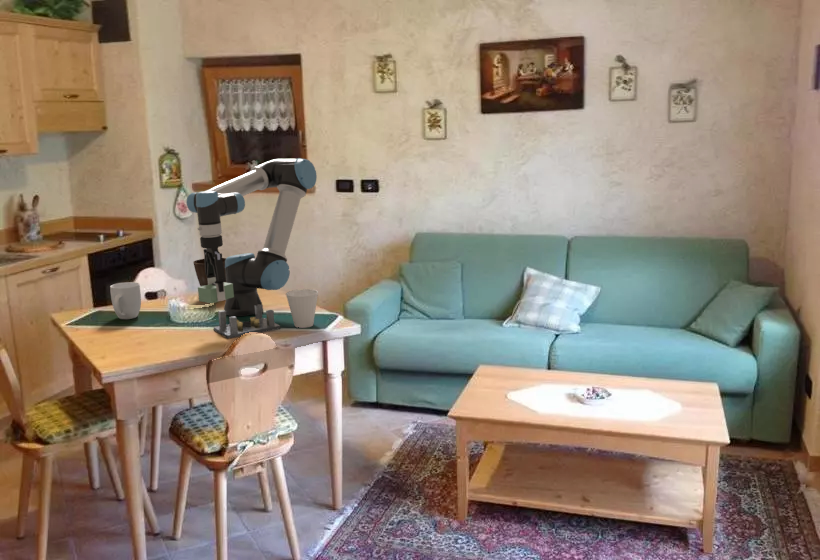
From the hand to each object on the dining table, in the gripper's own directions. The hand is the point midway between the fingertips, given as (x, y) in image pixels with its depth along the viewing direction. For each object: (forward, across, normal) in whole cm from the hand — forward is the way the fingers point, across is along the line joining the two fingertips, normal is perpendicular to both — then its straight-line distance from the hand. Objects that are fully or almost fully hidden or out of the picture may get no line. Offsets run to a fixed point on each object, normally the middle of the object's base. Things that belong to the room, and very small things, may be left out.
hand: (217, 297), depth 275 cm
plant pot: (+14, -58, +15) cm, 62 cm away
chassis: (+13, +2, +9) cm, 16 cm away
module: (0, 0, 0) cm, 1 cm away
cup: (+14, +10, +28) cm, 33 cm away
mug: (+13, -43, -24) cm, 51 cm away
